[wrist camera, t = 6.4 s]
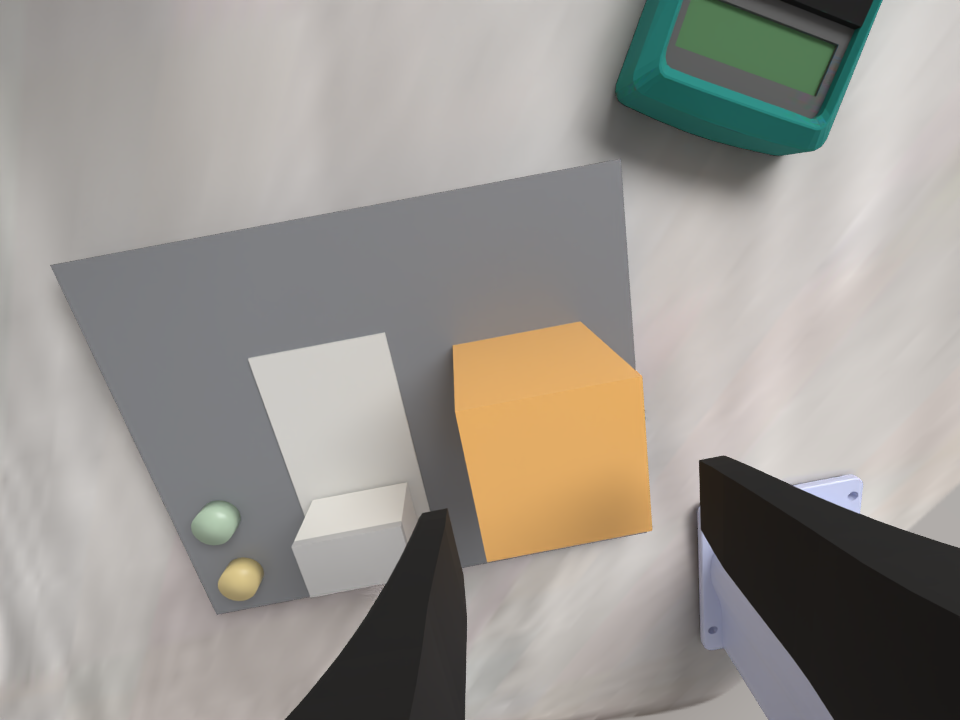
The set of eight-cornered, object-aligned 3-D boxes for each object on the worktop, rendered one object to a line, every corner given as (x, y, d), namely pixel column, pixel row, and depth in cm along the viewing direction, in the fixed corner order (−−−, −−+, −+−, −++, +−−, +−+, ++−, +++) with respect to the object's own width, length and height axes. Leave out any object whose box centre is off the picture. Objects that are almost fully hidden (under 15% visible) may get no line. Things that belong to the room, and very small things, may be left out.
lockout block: (592, 435, 20) (652, 530, 14) (475, 457, 19) (487, 562, 14) (580, 321, 18) (642, 376, 12) (452, 345, 18) (454, 411, 12)
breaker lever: (419, 528, 20) (415, 578, 18) (329, 545, 20) (311, 597, 18) (406, 482, 19) (400, 526, 17) (312, 500, 19) (291, 546, 17)
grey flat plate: (634, 511, 23) (654, 544, 21) (231, 588, 23) (208, 630, 20) (606, 162, 18) (629, 156, 15) (82, 260, 17) (30, 268, 15)
